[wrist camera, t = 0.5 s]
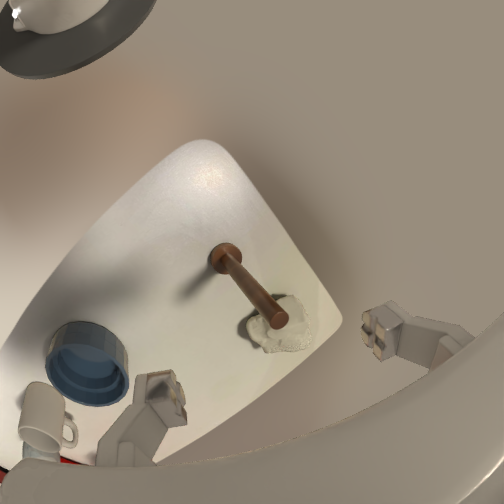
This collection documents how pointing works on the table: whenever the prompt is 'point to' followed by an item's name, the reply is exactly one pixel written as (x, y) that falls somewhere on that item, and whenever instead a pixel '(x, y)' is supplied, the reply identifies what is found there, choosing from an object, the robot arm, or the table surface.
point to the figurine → (39, 453)
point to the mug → (45, 419)
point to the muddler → (248, 284)
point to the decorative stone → (286, 338)
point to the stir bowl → (88, 365)
